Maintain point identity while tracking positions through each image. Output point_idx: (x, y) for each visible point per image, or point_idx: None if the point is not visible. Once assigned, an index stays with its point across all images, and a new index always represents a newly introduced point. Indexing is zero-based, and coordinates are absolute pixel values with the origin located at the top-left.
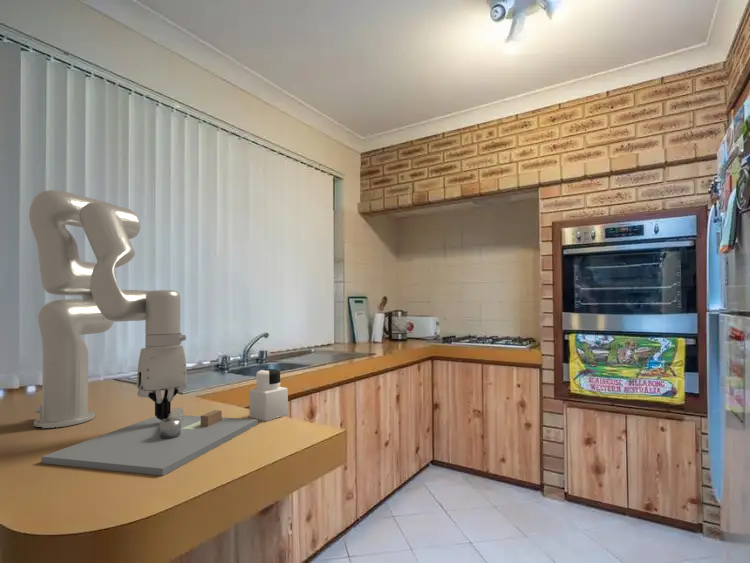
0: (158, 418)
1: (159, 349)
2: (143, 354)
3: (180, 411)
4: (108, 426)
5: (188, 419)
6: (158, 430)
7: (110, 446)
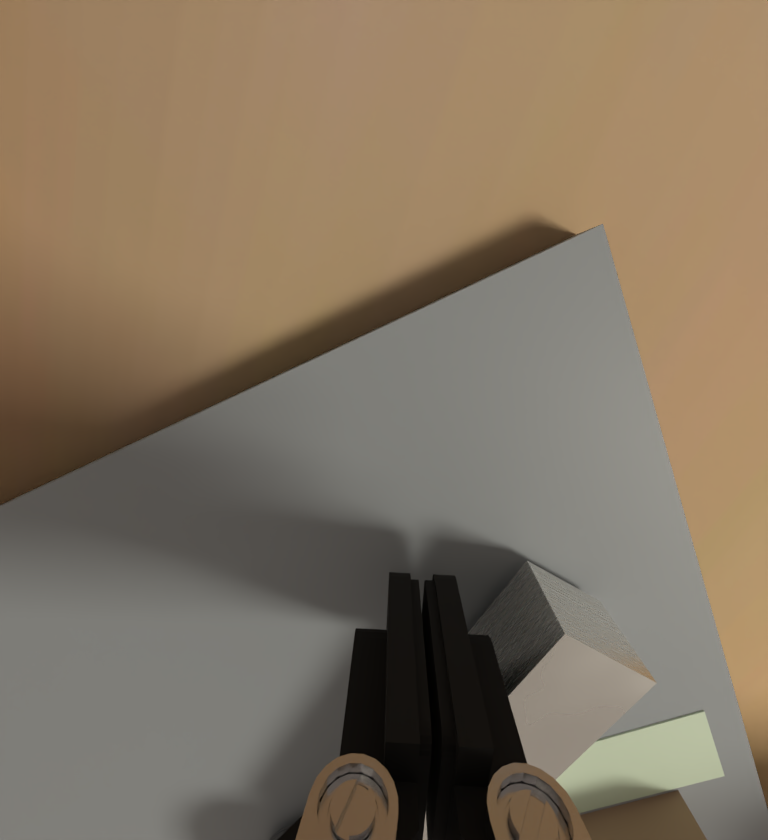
0: (387, 607)
1: None
2: None
3: None
4: (103, 24)
5: None
6: (320, 711)
7: (25, 769)
